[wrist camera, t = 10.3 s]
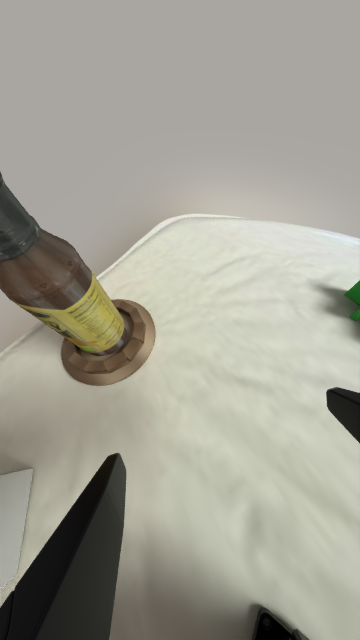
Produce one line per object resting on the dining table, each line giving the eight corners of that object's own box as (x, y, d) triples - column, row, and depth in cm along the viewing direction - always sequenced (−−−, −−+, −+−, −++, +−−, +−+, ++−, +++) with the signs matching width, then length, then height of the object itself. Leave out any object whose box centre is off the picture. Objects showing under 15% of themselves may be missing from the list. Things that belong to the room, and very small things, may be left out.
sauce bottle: (79, 334, 26) (-144, 152, 9) (117, 311, 28) (-10, 119, 11) (95, 369, 23) (-189, 196, 6) (138, 341, 25) (6, 141, 8)
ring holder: (113, 406, 21) (106, 404, 19) (45, 355, 25) (34, 349, 24) (172, 321, 26) (171, 314, 25) (107, 291, 31) (102, 282, 29)
